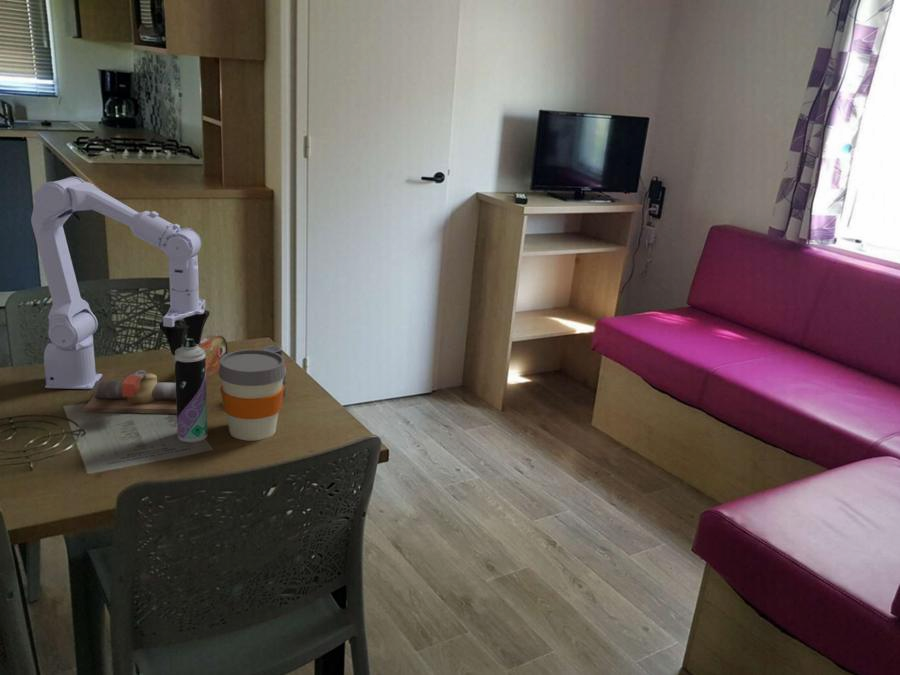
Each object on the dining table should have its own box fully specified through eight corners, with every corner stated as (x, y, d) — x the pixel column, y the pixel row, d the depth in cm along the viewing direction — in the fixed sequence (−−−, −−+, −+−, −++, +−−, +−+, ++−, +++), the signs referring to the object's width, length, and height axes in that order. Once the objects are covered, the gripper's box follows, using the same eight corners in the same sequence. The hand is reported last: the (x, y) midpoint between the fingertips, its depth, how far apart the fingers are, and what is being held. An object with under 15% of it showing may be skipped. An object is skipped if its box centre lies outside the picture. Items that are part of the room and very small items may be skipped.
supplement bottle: (252, 397, 167) (251, 348, 163) (269, 388, 172) (269, 341, 168) (273, 404, 164) (273, 355, 161) (291, 395, 170) (291, 347, 166)
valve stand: (84, 411, 154) (82, 386, 152) (99, 392, 163) (98, 367, 161) (187, 413, 157) (186, 388, 155) (196, 394, 166) (195, 370, 164)
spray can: (180, 444, 144) (176, 345, 138) (175, 432, 149) (171, 335, 142) (210, 440, 147) (207, 342, 140) (204, 428, 151) (201, 333, 145)
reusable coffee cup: (211, 423, 153) (209, 354, 148) (270, 412, 160) (270, 345, 155) (233, 450, 144) (232, 376, 139) (295, 436, 151) (296, 366, 146)
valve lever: (137, 376, 159) (136, 364, 158) (148, 376, 159) (147, 364, 158) (122, 396, 149) (121, 384, 148) (134, 396, 149) (133, 384, 149)
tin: (194, 386, 170) (193, 351, 167) (182, 384, 171) (180, 349, 168) (229, 364, 184) (228, 331, 181) (217, 362, 185) (216, 329, 182)
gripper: (185, 299, 152) (187, 362, 156) (217, 281, 166) (218, 340, 170) (152, 294, 153) (155, 358, 157) (187, 278, 166) (189, 336, 171)
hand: (186, 348), depth 164 cm, fingers open, 7 cm apart
